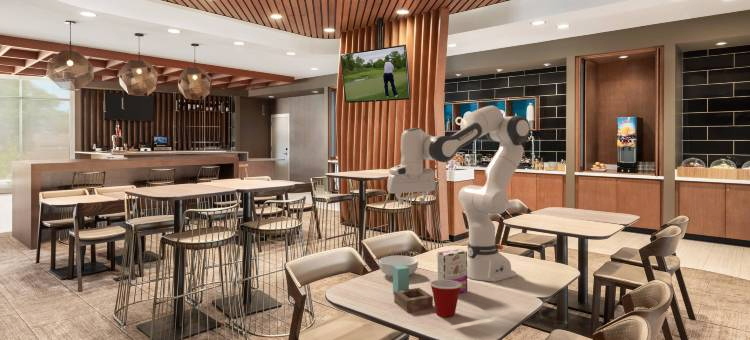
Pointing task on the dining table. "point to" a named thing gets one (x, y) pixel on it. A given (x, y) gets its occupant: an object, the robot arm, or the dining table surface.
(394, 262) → the cereal bowl
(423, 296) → the pocket block
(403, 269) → the teal peg
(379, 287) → the dining table surface
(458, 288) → the plastic cup
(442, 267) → the candy bar box
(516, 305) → the dining table surface
